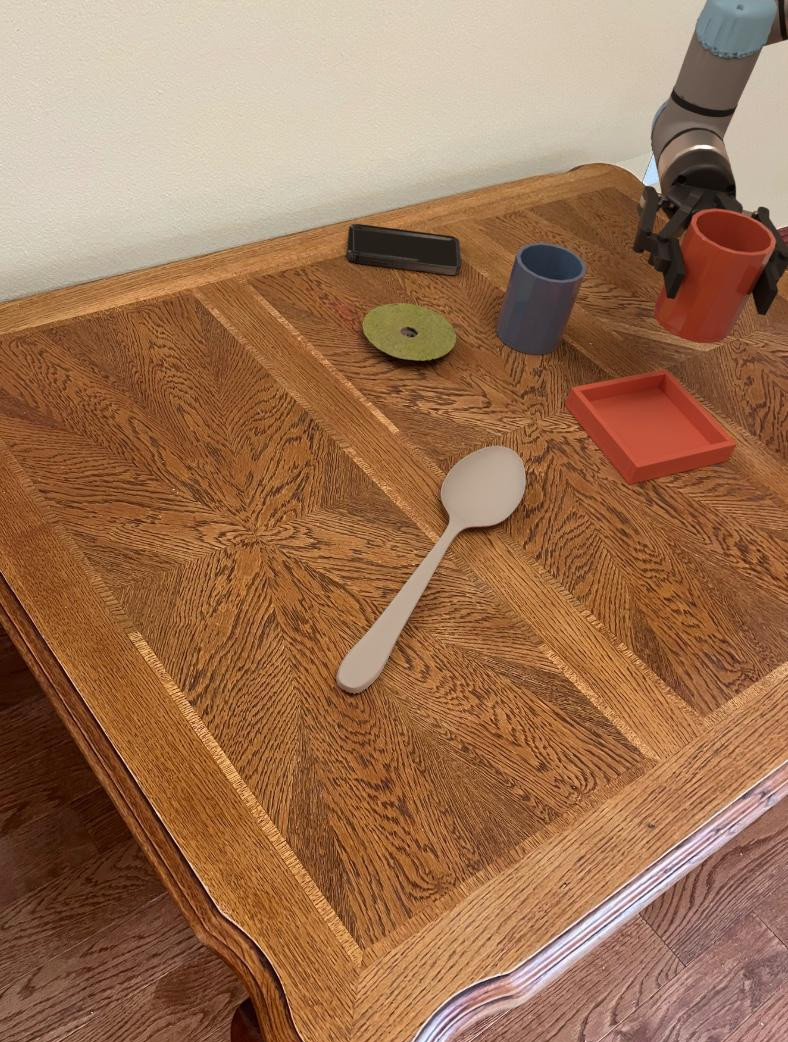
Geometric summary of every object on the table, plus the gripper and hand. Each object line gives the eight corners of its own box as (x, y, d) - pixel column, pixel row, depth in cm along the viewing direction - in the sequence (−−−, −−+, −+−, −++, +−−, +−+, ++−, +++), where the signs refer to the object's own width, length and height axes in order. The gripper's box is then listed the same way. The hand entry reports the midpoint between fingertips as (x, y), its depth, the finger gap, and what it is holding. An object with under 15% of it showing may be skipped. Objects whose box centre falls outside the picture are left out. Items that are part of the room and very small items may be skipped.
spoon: (471, 450, 102) (475, 432, 100) (538, 479, 100) (544, 461, 98) (303, 680, 82) (305, 664, 80) (382, 722, 80) (386, 706, 78)
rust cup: (746, 337, 98) (793, 249, 90) (683, 348, 95) (726, 259, 87) (699, 292, 102) (740, 205, 94) (638, 302, 99) (675, 213, 92)
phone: (349, 222, 126) (459, 236, 127) (348, 230, 127) (457, 244, 128) (347, 254, 121) (461, 268, 122) (346, 262, 122) (459, 276, 123)
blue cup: (572, 349, 116) (599, 277, 108) (516, 359, 113) (539, 286, 106) (539, 310, 120) (562, 239, 113) (484, 319, 118) (504, 246, 110)
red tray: (727, 461, 106) (737, 444, 104) (628, 485, 101) (637, 467, 99) (658, 386, 113) (666, 368, 111) (564, 405, 109) (570, 387, 107)
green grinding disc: (358, 312, 116) (360, 298, 114) (447, 319, 117) (450, 305, 115) (363, 369, 109) (365, 355, 107) (458, 376, 110) (461, 362, 108)
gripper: (772, 229, 108) (809, 345, 94) (592, 197, 108) (601, 308, 94) (805, 165, 102) (850, 279, 88) (614, 131, 102) (628, 239, 88)
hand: (722, 294), depth 91 cm, fingers closed on rust cup, 8 cm apart
